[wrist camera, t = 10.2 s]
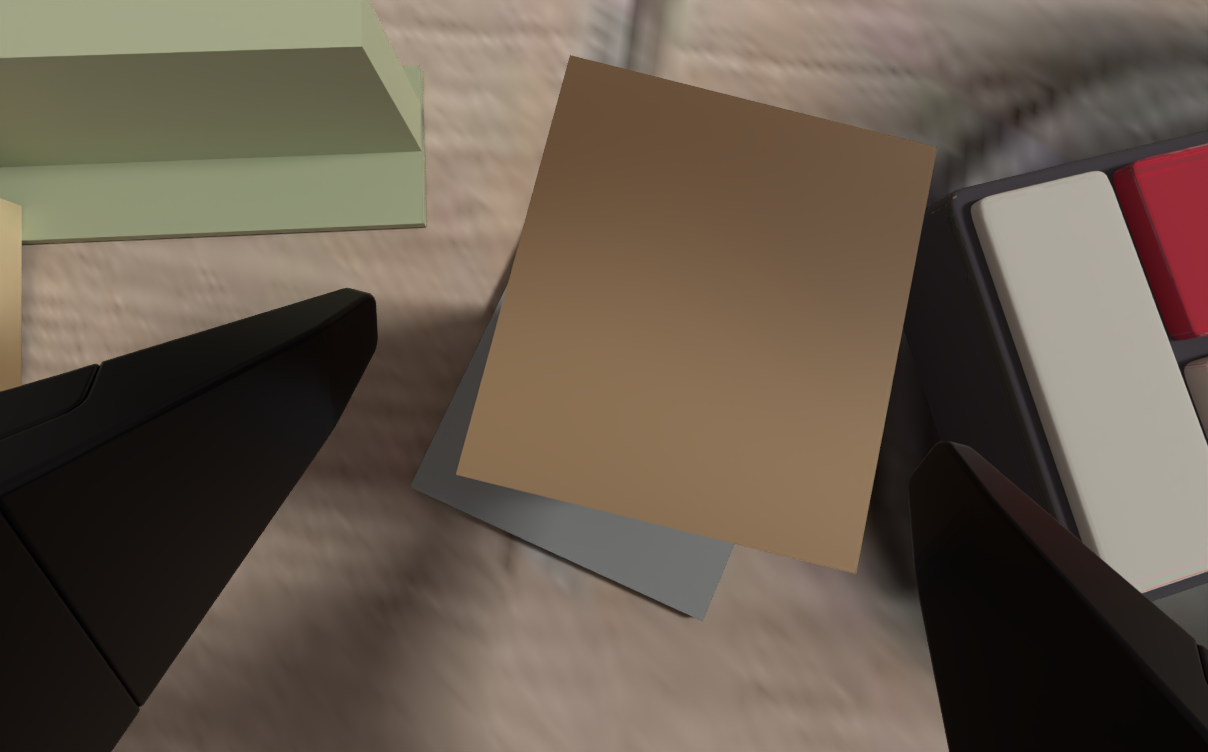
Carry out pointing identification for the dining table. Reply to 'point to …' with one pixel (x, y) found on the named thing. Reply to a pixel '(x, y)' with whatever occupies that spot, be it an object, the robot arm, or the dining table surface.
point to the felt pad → (571, 516)
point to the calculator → (1081, 347)
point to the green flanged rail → (206, 119)
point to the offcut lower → (10, 295)
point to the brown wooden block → (703, 315)
